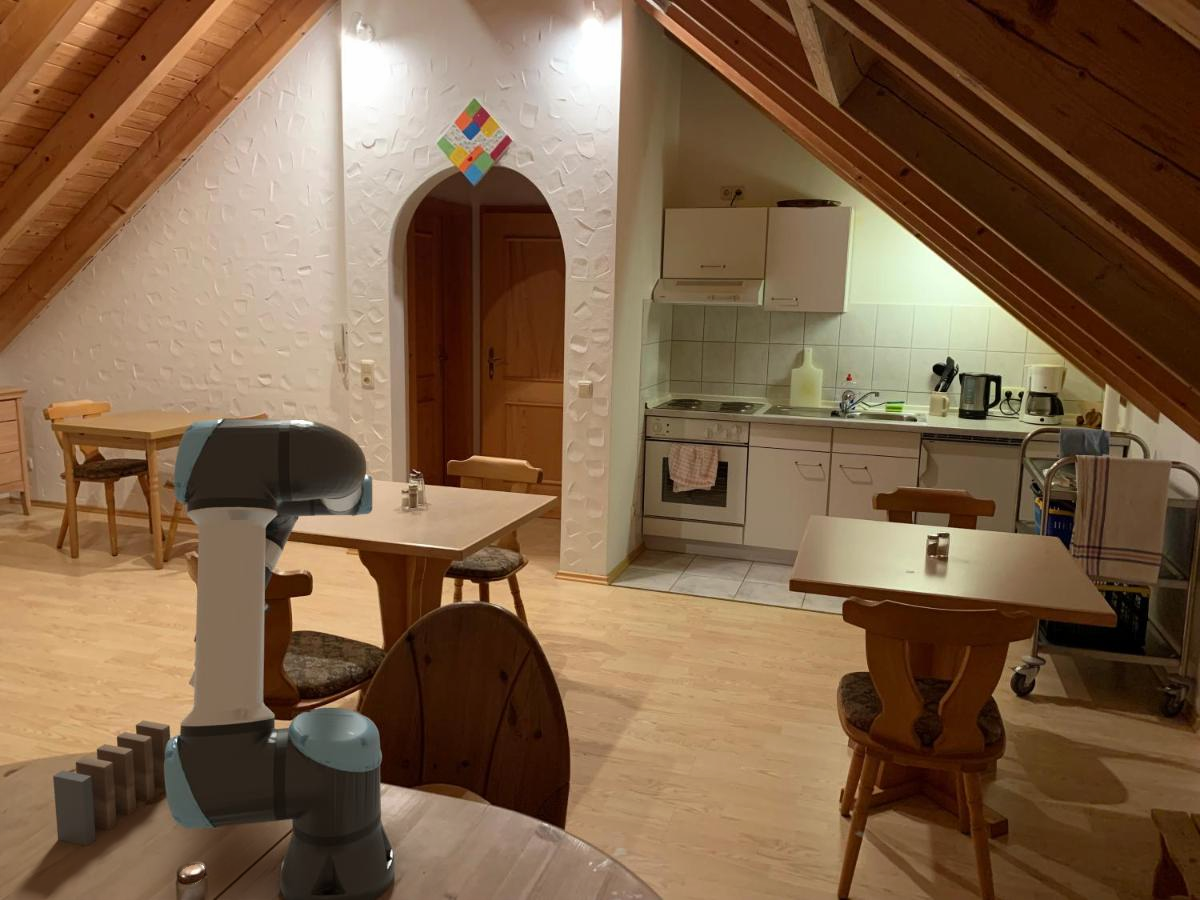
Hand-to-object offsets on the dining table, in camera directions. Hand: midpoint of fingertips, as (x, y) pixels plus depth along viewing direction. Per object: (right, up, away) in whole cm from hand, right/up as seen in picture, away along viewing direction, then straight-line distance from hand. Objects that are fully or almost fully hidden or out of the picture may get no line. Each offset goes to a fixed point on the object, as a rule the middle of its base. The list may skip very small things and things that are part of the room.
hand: (196, 687), depth 155 cm
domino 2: (-6, -15, -20) cm, 26 cm away
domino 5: (-3, -13, -8) cm, 16 cm away
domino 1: (-7, -16, -24) cm, 29 cm away
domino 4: (-4, -14, -12) cm, 19 cm away
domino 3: (-5, -15, -16) cm, 22 cm away
